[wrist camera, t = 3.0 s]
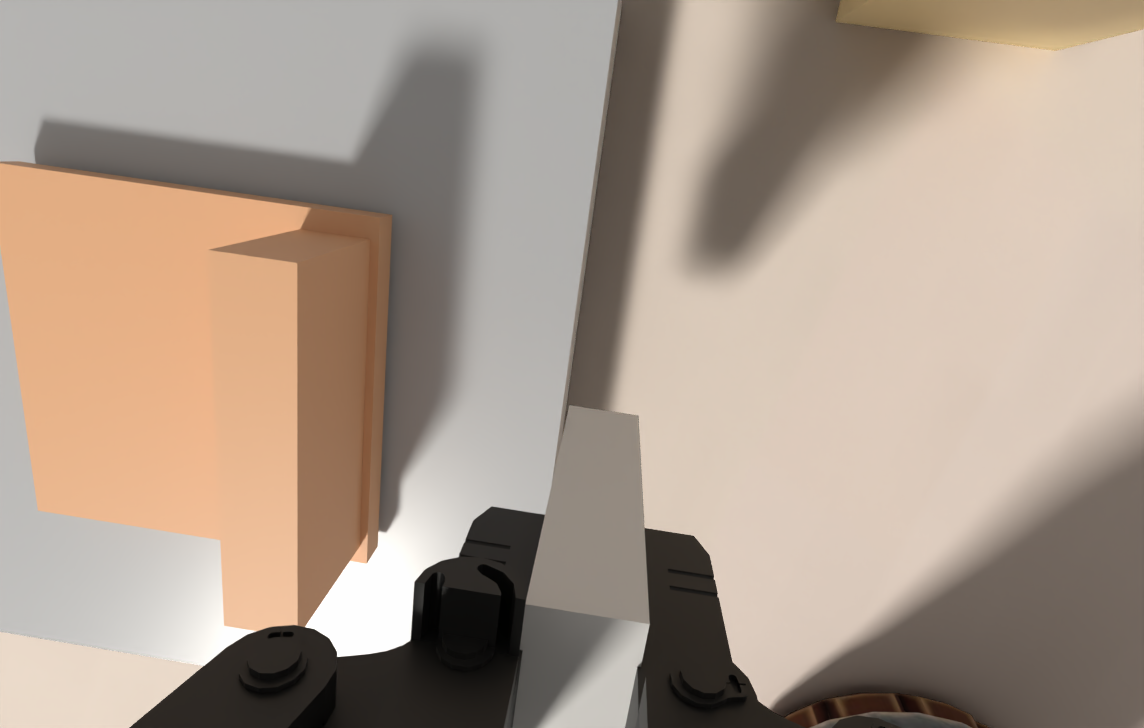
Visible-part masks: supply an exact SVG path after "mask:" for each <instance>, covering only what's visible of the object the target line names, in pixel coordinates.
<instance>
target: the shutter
mask: <svg viewBox="0 0 1144 728" xmlns="http://www.w3.org/2000/svg"><path fill="white" fill-rule="evenodd" d="M391 234H392V215H390V214H383V213H376V212H369V211H362V210H355V209H348V208H342V207H335V206H328V205H321V204H314V203H307V202H300V201H293V200H286V199H279V198H272V197H265V196H258V195H251V194H244V193H237V192H230V191H223V190H216V189H209V188H202V187H195V186H188V185H181V184H174V183H167V182H160V181H153V180H146V179H139V178H132V177H125V176H118V175H111V174H104V173H97V172H90V171H83V170H76V169H69V168H62V167H55V166H48V165H41V164H34V163H28V162H21V161H0V249H1V256H2V263H3V270H4V277H5V284H6V291H7V298H8V305H9V312H10V319H11V326H12V333H13V340H14V347H15V354H16V361H17V368H18V375H19V382H20V389H21V396H22V403H23V410H24V417H25V424H26V431H27V438H28V445H29V452H30V459H31V466H32V473H33V480H34V487H35V494H36V501H37V508H38V511H43V512H49V513H55V514H62V515H68V516H74V517H80V518H86V519H93V520H99V521H105V522H111V523H117V524H124V525H130V526H136V527H142V528H148V529H155V530H161V531H167V532H173V533H179V534H185V535H192V536H198V537H204V538H210V539H216V540H220V546H221V569H222V592H223V615H224V626H228V627H234V628H240V629H246V630H252V631H259V630H262V629H265V628H268V627H274V626H287V625H297V626H302V627H305V626H306V625H307V623H308V622H309V620H310V619H311V617H312V616H313V615H314V613H315V612H316V610H317V609H318V607H319V606H320V604H321V603H322V601H323V600H324V598H325V597H326V595H327V594H328V592H329V591H330V590H331V588H332V587H333V585H334V584H335V582H336V581H337V579H338V578H339V576H340V575H341V573H342V572H343V570H344V569H345V567H346V566H347V565H348V563H349V562H350V561H353V562H359V563H365V564H367V563H368V561H369V559H370V558H371V556H372V555H373V553H374V552H375V550H376V548H377V547H378V528H379V506H380V483H381V460H382V438H383V415H384V392H385V370H386V347H387V324H388V302H389V279H390V256H391Z"/></svg>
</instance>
